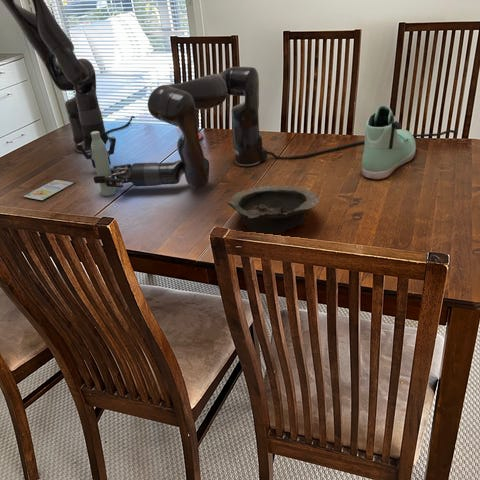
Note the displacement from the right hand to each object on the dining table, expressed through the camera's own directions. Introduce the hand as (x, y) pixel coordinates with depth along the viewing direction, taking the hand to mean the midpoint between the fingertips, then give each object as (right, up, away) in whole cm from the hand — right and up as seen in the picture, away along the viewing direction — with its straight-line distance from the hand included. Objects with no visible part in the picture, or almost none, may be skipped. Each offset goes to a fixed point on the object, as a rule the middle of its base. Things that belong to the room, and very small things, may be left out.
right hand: (96, 176), depth 157 cm
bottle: (+3, -5, +3) cm, 7 cm away
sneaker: (+98, +7, +9) cm, 99 cm away
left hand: (-3, +6, +18) cm, 19 cm away
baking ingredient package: (-19, -4, +8) cm, 21 cm away
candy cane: (+26, +19, +39) cm, 51 cm away
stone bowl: (+56, -16, -21) cm, 62 cm away
